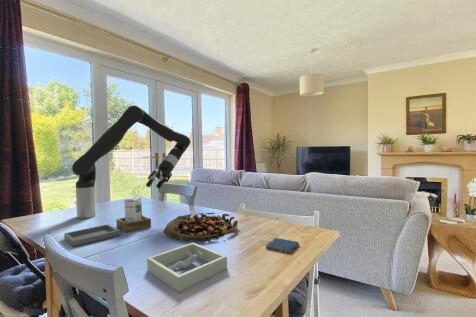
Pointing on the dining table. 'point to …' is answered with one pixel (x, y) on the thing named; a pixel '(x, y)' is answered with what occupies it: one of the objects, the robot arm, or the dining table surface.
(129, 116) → the robot arm
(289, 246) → the woven mat
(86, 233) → the charcoal tray
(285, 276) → the dining table surface
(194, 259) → the soldier figure
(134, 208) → the syrup box
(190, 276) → the sage display box
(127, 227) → the walnut collar
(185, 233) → the food dish
